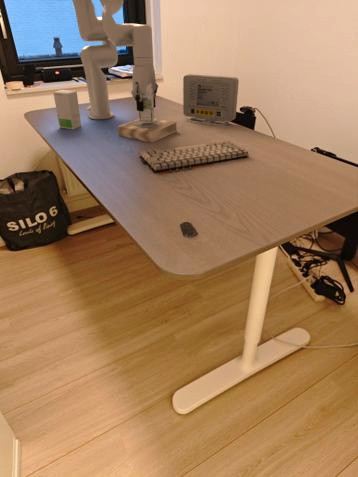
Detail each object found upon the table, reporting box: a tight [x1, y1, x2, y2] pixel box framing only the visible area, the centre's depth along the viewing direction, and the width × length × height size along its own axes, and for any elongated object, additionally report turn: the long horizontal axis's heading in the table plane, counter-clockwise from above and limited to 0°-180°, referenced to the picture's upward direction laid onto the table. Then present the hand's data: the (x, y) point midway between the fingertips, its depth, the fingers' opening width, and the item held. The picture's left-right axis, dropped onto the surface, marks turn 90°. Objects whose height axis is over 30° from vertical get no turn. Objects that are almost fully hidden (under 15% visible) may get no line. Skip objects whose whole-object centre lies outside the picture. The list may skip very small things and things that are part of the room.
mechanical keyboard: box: [139, 140, 250, 176], centre depth 122 cm, size 38×19×3 cm, turn 114°
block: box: [179, 221, 199, 238], centre depth 82 cm, size 4×6×2 cm, turn 16°
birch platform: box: [117, 118, 177, 143], centre depth 146 cm, size 18×18×4 cm
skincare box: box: [53, 89, 82, 130], centre depth 152 cm, size 8×7×16 cm
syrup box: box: [137, 83, 156, 122], centre depth 140 cm, size 6×6×14 cm
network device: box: [182, 73, 240, 127], centre depth 156 cm, size 26×9×20 cm, turn 62°
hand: (146, 108), depth 141 cm, fingers closed on syrup box, 7 cm apart
